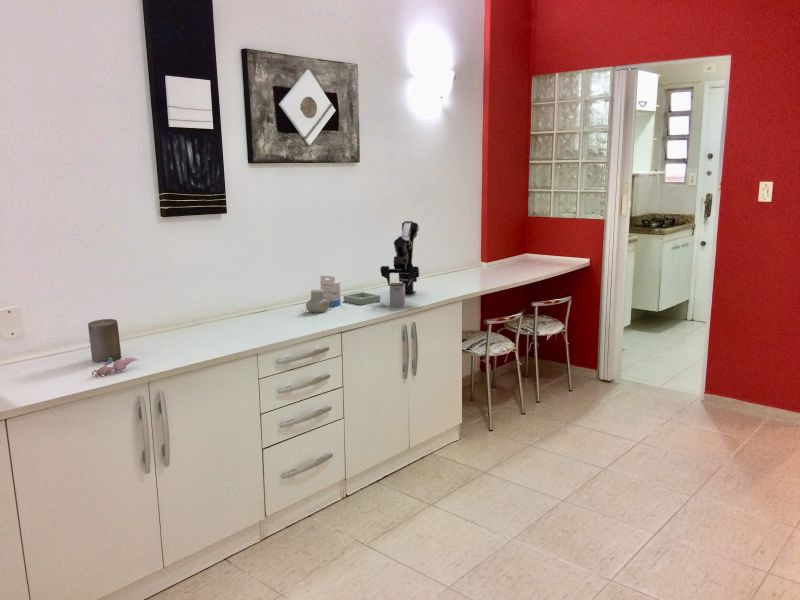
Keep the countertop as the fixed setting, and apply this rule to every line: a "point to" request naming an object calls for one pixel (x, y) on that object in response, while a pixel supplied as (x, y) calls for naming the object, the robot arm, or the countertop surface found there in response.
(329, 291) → the ink box
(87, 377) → the countertop surface
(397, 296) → the grey rectangular block
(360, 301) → the tray
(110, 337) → the pillar candle
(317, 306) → the beige rounded blocky piece
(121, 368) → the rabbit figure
